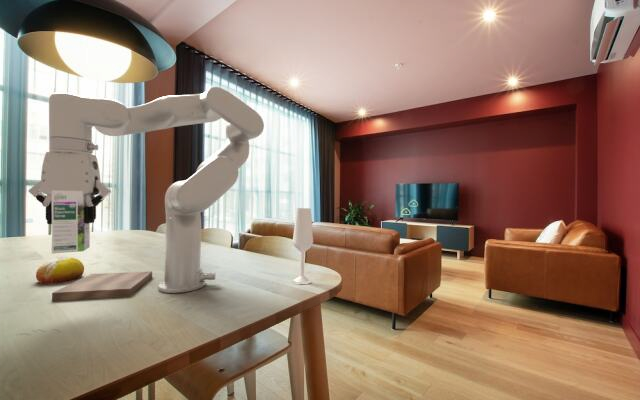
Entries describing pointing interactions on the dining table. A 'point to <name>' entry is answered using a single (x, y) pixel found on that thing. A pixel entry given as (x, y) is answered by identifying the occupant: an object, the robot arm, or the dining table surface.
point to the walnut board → (103, 286)
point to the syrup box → (69, 222)
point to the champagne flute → (303, 236)
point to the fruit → (60, 271)
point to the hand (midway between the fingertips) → (71, 222)
